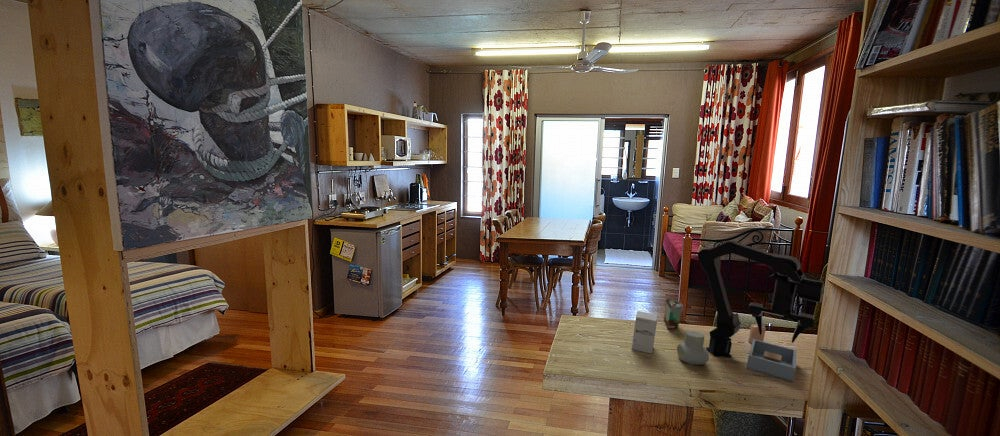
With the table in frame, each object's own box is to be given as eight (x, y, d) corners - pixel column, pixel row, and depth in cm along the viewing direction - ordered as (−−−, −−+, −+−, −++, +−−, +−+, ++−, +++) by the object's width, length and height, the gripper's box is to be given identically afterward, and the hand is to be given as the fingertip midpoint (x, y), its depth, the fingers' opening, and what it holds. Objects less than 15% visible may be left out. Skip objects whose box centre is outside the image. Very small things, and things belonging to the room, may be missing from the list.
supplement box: (631, 349, 163) (635, 316, 161) (633, 342, 170) (637, 310, 168) (652, 354, 160) (656, 320, 158) (653, 346, 167) (658, 314, 165)
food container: (683, 333, 182) (687, 309, 180) (667, 330, 183) (671, 307, 181) (678, 321, 194) (681, 299, 192) (663, 319, 195) (666, 297, 193)
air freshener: (673, 353, 163) (677, 326, 161) (697, 354, 163) (700, 328, 161) (685, 367, 152) (689, 339, 150) (709, 369, 152) (714, 341, 150)
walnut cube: (779, 368, 155) (781, 355, 154) (778, 374, 150) (781, 360, 150) (762, 364, 157) (764, 350, 157) (761, 369, 153) (763, 355, 152)
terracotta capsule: (753, 346, 174) (756, 328, 173) (745, 340, 179) (748, 323, 178) (765, 346, 174) (768, 329, 173) (757, 340, 179) (760, 324, 178)
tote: (793, 382, 147) (795, 368, 146) (746, 369, 154) (748, 355, 153) (793, 363, 161) (796, 350, 161) (751, 351, 169) (753, 338, 168)
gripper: (817, 295, 151) (809, 338, 154) (754, 282, 161) (747, 324, 164) (818, 303, 142) (809, 349, 144) (751, 289, 152) (744, 333, 155)
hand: (776, 338), depth 152 cm, fingers open, 9 cm apart
